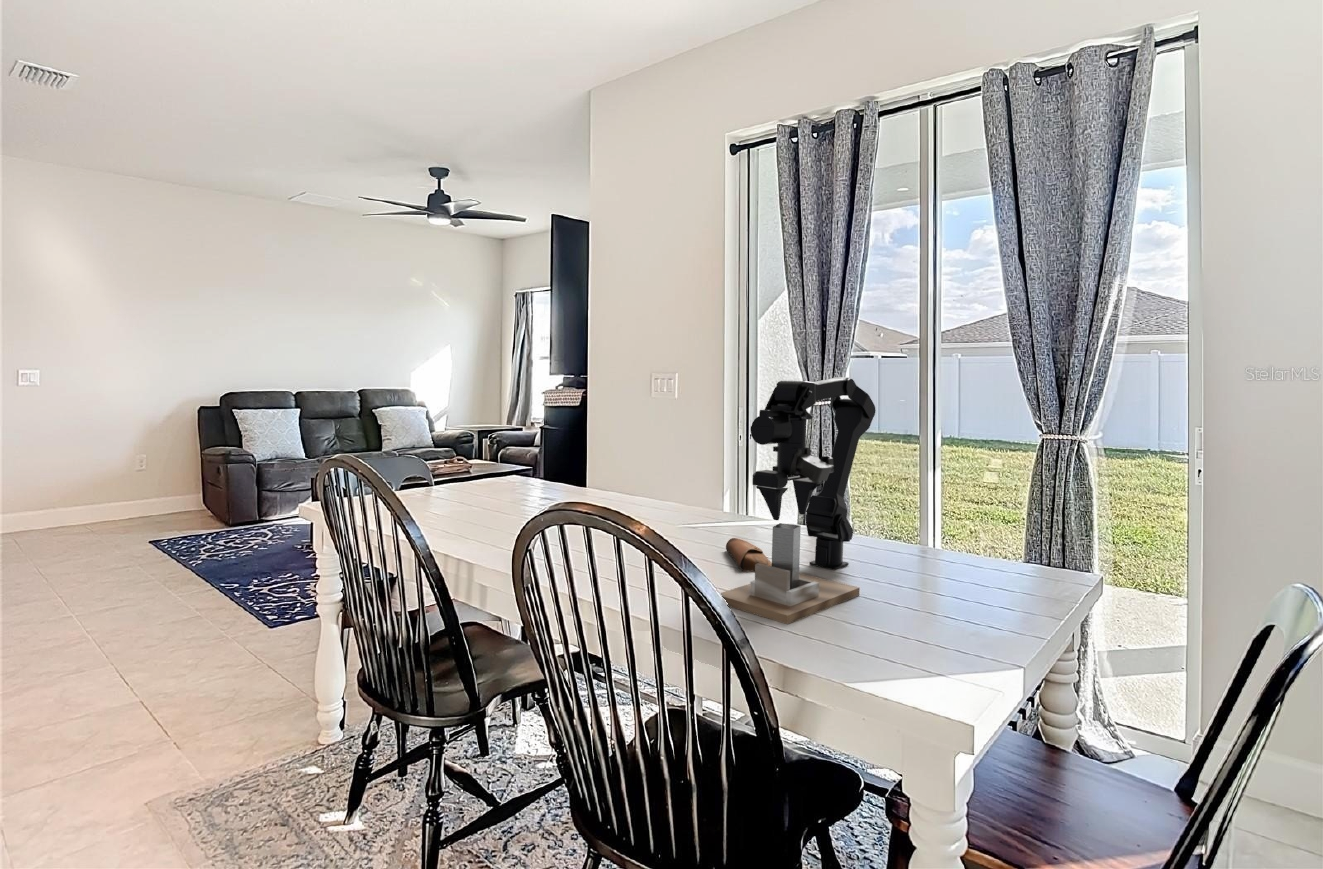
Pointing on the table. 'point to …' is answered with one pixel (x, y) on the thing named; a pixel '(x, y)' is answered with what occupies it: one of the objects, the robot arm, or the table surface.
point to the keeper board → (787, 595)
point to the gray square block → (787, 550)
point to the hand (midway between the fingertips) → (789, 517)
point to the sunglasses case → (746, 554)
